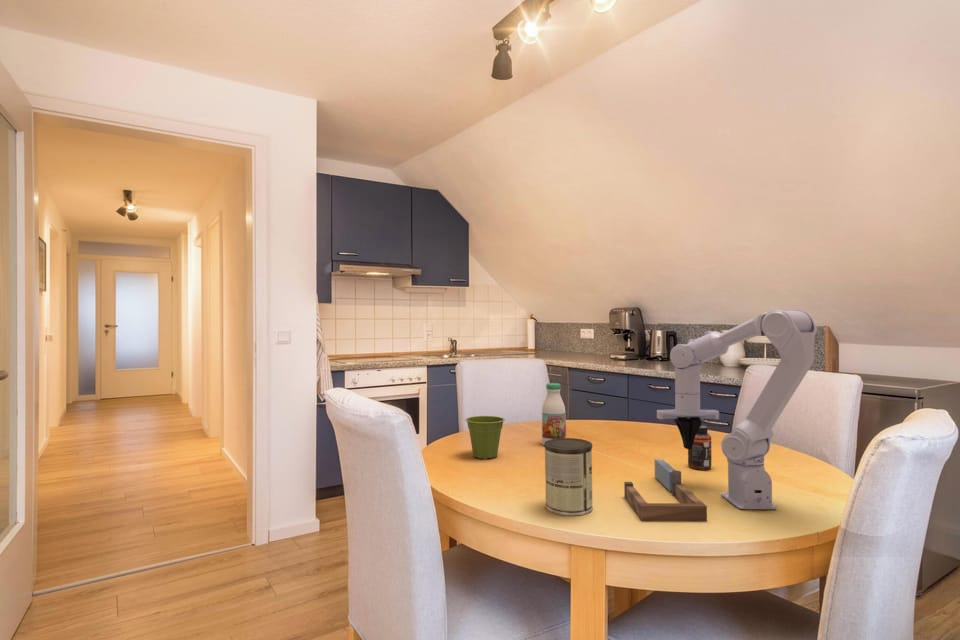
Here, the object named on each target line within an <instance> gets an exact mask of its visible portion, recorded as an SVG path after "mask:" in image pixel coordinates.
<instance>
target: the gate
mask: <svg viewBox="0 0 960 640" xmlns="http://www.w3.org/2000/svg"><path fill="white" fill-rule="evenodd" d="M673 470H676V469H675V468H674V467H673V466H671V465H670V464H669V463H668V462H667V461H666V460H664V459H663V458H654V478H656V479H657V480H658V481H659V482H660V483H661V485H663V487H664V488H666V489H667V490H668V491H669V492H672V471H673Z"/></svg>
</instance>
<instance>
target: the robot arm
mask: <svg viewBox="0 0 960 640" xmlns="http://www.w3.org/2000/svg"><path fill="white" fill-rule="evenodd" d="M817 332H818V327H817V325H816V323H815V321H814V319H813V317H812V315H811V314H810V313H809V312H807V311H805V310H802V309H794V310H782V309H773V310H770V311H768V312H767V313H762V314H761V313H760V314H759V315H756V316H754V317H753V318H751V319H748V320H747V321H744V322H743V323H740V324H738V325H736V326H734V327H732V328H730V329H729V330H726V331H724V332H723V333H721V332H720V331H717V330H713V331H712V330H707V331H705V332H703V333H704V335H702V336H700V337H697V338H691V339H689V340H688V343H687V344H683V343H678V344H676V345H675V346H673V347H672V348H671V350H670V352H669V353H670V354H669V360H670V362H671V364H672V365H673V366H674V391H675V395H674V397H675V398H674V400H675V402H674V404H675V407H674V408H675V409H674V408H673V409H657V410H656V419H658V420H666V419H667V420H669V419H671V420H673V421H674V422H675V424H676V426H677V428H678V431H679V434H680V436H681V440H682V445H683V448H684V449H686V450H688V449H692V446H693V442H694V439H695V436H696V434H697V431H698V430H699V428H700V426H701V425H702V424H703V423H702V420H703V419H704V420H705V419H706V420H707V419H708V420H709V419H710V420H712V419H713V420H720V411H718V410H717V409H701V372H702V365H704V363H706V362H708V361H710V360H713V359H715V358H718V357H721V356H724V355H725V354H727V352H728V351H729V347H730V346H733V345H735V344H736V345H737V344H738V343H741V342H744V341H747V340H750V339H752V338H755V337H766V338H767V339H768V341H769V342H770V343H771V344H772V345H773V346H774V348H775V350H777V352H778V355H779V357H780V361H779V362H778V364H777V365H776V367H775V369H774V370H773V373H772V374H771V375H770V377H769V379H768V381H767V382H766V383H765V386H764V387H763V389H762V391H761V392H760V394H759V396H758V397H757V398H756V401H755V403H754V404H753V406H752V407H751V409H750V411H749V412H748V414H747V416H746V417H745V418H744V419H743V420H742V421H741V422H739V423H738V424H737V425H736V426H735V427H734V428H733V430H732V431H731V432H730V433H728V434H726V435H725V436H724V437H723V438H722V441H721V445H720V446H721V450H722V454H723V455H724V457H725V458H726V459H727V481H728V482H727V484H728V485H727V486H728V487H727V490H728V492H721V493H720V495H721V496H722V497H723V498H725V499H726V500H727V501H728V502H730V503H731V504H732V505H733V506H735V508H737V509H739V510H777V506H775V505H774V504H773V483H772V478H771V476H770V474H769V473H768V472H767V470H766V469H765V456H766V455H767V454H768V453H769V452H770V449H771V440H772V438H773V436H774V432H773V431H772V429H773V427H774V426H775V424H776V422H777V421H778V420H779V418H780V416H781V414H782V413H783V411H785V410H784V409H785V408H786V406H787V405H788V403H790V400H791V398H792V397H793V395H794V394H795V392H796V390H797V389H798V387H799V386H800V384H801V383H802V382H803V380H804V378H805V377H806V375H807V373H808V372H809V370H810V369H811V367H812V365H813V364H814V361H815V336H816V335H817Z"/></svg>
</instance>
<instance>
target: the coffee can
mask: <svg viewBox="0 0 960 640" xmlns="http://www.w3.org/2000/svg"><path fill="white" fill-rule="evenodd" d="M544 445H545V446H544ZM544 445H543V446H544V462H545V463H544V464H545V465H544V466H545V467H544V469H545V471H544V473H545V508H546V510H547V511H548V512H550V513H553V514H556V515H561V516H567V517H568V516H569V517H572V516H573V517H575V516H576V517H577V516H584V515H587V514H589V513H591V512H592V511H593V508H594V507H593V462H592V461H593V456H592V455H593V453H592V450H593V442H591V441H589V440H585V439H581V438H573V437H572V438H571V437H566V438H557V439H551V440H548V441H546V442H545V443H544Z"/></svg>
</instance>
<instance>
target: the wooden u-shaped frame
mask: <svg viewBox="0 0 960 640" xmlns="http://www.w3.org/2000/svg"><path fill="white" fill-rule="evenodd" d="M623 484H624V487H623V488H624V498H625V500H626V501H627V502H628V505H630V507H631V508H632V509H633V511H634V512H635V514H636V515H637V517H638V518H639V519H640V520H641V521H642V522H650V521H651V522H708V510H707V509H708V506H707V504H705V503H704V502H703V501H702V500H701V499H699V498H698V497H697V496H696V495H695V494H694V493H693V492H691V491H690V490H689V489H688V488H687V487H686V486H685V485H684V484H682V471H680V470H677V469H675V470H673V471H672V491H671V496H672V497H675V499H676V500H677V501H679V502H678V503H673V502H672V503H671V502H670V503H661V502H659V503H658V502H653V503H650V502H647V501H646V499H644V497H643V496H642V494H640V493H639V491H638V490H637V488H636V487H635V486H634V483H633V482H632V481H624V483H623Z"/></svg>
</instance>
